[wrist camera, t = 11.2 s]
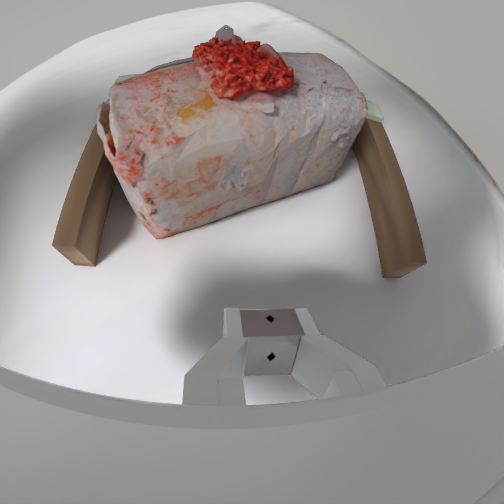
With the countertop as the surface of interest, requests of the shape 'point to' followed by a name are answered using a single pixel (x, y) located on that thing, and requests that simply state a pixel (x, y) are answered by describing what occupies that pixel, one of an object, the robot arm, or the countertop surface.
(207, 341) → the countertop surface
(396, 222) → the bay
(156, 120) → the food item
